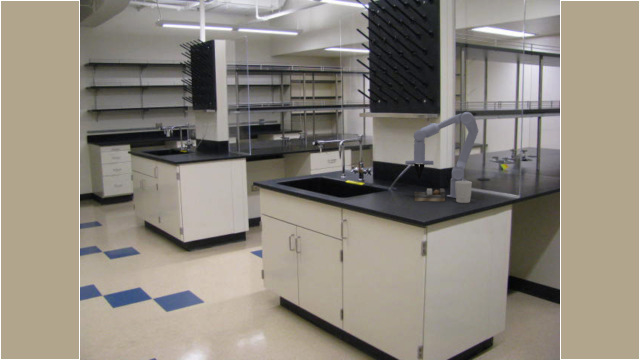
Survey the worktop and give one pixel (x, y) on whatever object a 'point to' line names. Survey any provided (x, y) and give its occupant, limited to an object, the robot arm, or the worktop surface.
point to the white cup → (463, 191)
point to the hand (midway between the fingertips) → (419, 178)
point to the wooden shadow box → (430, 196)
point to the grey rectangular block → (429, 191)
